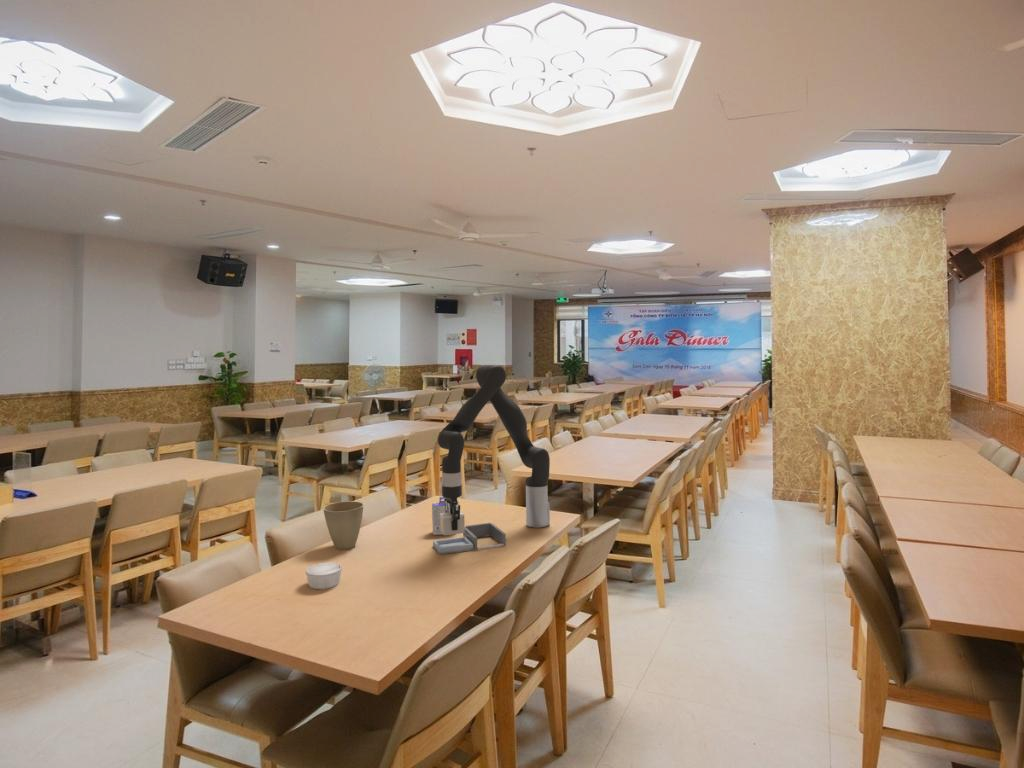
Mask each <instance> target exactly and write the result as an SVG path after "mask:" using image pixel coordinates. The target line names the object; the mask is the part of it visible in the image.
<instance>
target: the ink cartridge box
mask: <svg viewBox="0 0 1024 768" xmlns="http://www.w3.org/2000/svg"><path fill="white" fill-rule="evenodd" d="M444 498H445V497H443V496H440V497H439V502H433V503H432V504H431V510H432V511H431V513H432V514H431V515H432V516H431V518H432V521H431V522H432V535H433V536H437V535H443V534H442V533H441V525H440V513H445V501H444Z"/></svg>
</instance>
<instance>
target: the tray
mask: <svg viewBox="0 0 1024 768" xmlns="http://www.w3.org/2000/svg"><path fill="white" fill-rule="evenodd" d="M432 547H433V548H434V549H435V551H436V552H437V554H439V555H440V556H441V555H447V554H448V553H449V554H455V552H456V553H461V552H468V551H475V550H474V549H473V543H472V542H471V541H470V540H469V539H468V538H467V537H466V536H465V537H463V536H459V537H453V538H444V539H437V540H432Z"/></svg>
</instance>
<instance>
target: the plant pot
mask: <svg viewBox="0 0 1024 768" xmlns="http://www.w3.org/2000/svg"><path fill="white" fill-rule="evenodd" d="M322 508H323V510H322V511H323V513H324V519H325V522H326V523H325V524H326V527H327V531H328V533H329V536H330V539H331V541H332V544H333V545H334V547H335V549H336V550H341V551H345V550H350V549H353V548H355V547H356V545H357V540H358V538H359V534H360V531H361V525H362V521H363V514H364V513H363V512H364V503H363V502H361V501H355V500H354V501H353V500H350V501H349V500H346V501H339V502H338V501H337V502H333V503H329V504H327V505H325V506H324V507H322Z"/></svg>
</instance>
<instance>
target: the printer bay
mask: <svg viewBox="0 0 1024 768" xmlns="http://www.w3.org/2000/svg"><path fill="white" fill-rule="evenodd" d="M506 535H507V534H506V532H504V531H503V530H501V528H500V527H498V526H497V525H496V524H494V523H492V522H484V523H478V524H470V525H469V524H468V525H465V533H462V537H465V536H466V537H467V538H468V539H469V540H470V541H471V542H472V543H473V549H474V550H473V551H475V550H479V551H480V550H486V549H494V548H500V547H505V546H507V541H506V538H507V536H506ZM483 537H492V538H493V539H494V540H496V541H497V542H498V543H497V544H490V545H484V546H478V538H483Z"/></svg>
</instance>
